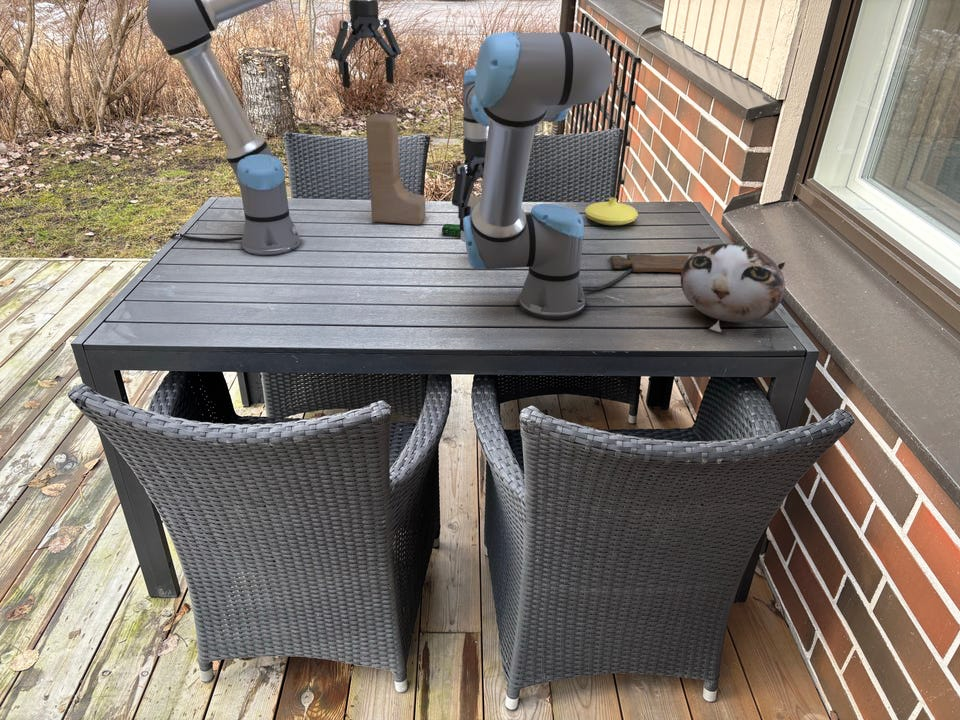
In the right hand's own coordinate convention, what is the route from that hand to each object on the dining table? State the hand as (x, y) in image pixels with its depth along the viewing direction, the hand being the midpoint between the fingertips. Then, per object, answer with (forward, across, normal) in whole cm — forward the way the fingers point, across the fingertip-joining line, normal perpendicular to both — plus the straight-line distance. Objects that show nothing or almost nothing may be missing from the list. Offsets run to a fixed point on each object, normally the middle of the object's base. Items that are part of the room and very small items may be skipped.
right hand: (477, 226), depth 185 cm
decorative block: (+10, -5, -38) cm, 39 cm away
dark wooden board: (+9, -32, +36) cm, 49 cm away
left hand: (-28, -2, -45) cm, 53 cm away
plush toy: (+9, -17, +63) cm, 66 cm away
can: (+3, 0, 0) cm, 3 cm away
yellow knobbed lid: (+10, -51, +7) cm, 52 cm away
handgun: (+10, -14, -15) cm, 23 cm away
